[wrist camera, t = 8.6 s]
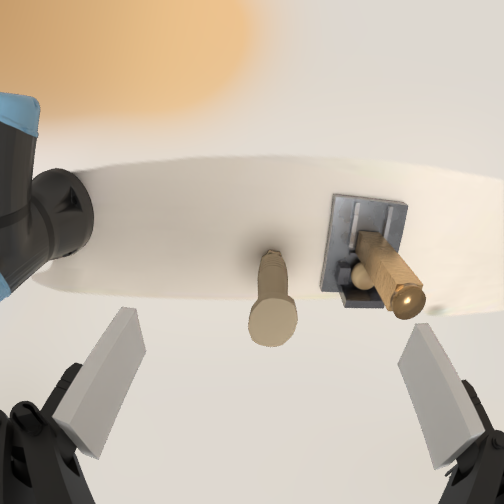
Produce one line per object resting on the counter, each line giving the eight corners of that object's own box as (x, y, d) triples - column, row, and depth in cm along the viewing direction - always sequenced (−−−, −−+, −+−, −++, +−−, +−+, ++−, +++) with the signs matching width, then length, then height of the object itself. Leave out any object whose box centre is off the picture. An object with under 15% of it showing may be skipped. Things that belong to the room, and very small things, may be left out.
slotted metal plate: (319, 286, 44) (326, 311, 38) (333, 194, 38) (344, 207, 32) (383, 288, 44) (397, 311, 38) (404, 202, 38) (424, 216, 32)
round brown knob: (343, 275, 41) (349, 289, 38) (357, 252, 40) (364, 265, 36) (364, 284, 42) (371, 298, 38) (378, 263, 40) (387, 276, 37)
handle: (293, 242, 41) (303, 302, 28) (283, 280, 44) (287, 349, 31) (260, 236, 41) (254, 294, 28) (252, 275, 44) (244, 342, 30)
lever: (353, 253, 40) (389, 319, 26) (357, 229, 38) (399, 288, 24) (376, 254, 39) (418, 319, 25) (381, 231, 38) (430, 289, 24)
